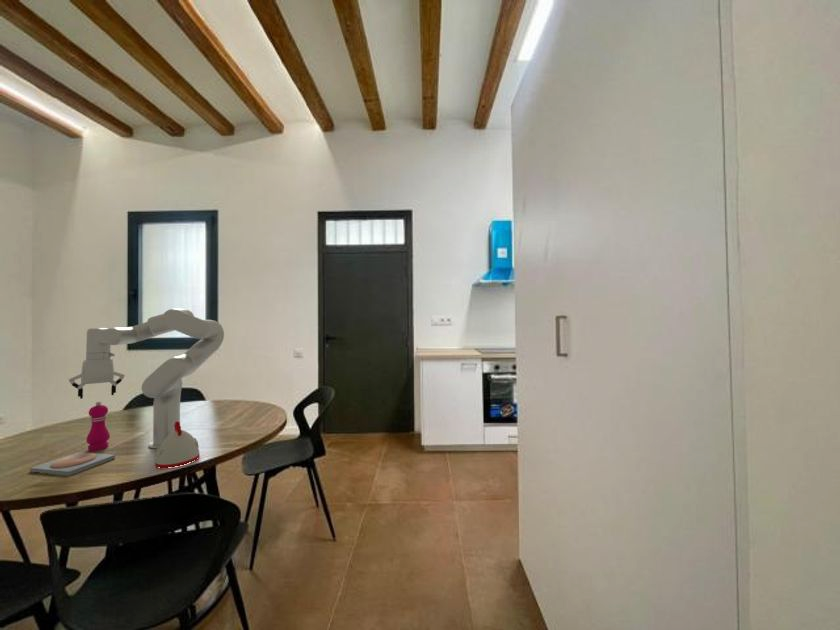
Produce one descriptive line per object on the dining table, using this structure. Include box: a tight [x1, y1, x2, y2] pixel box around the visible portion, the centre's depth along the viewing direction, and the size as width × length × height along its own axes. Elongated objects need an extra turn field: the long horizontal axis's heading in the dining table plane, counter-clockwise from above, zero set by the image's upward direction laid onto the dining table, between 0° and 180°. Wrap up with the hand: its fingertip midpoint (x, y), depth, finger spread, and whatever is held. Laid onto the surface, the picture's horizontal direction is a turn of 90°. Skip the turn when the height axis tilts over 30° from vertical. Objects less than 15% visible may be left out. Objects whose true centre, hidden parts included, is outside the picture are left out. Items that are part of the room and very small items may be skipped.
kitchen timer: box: [155, 421, 200, 468], centre depth 130 cm, size 14×14×15 cm
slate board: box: [29, 451, 116, 477], centre depth 127 cm, size 18×15×2 cm
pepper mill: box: [86, 401, 111, 452], centre depth 144 cm, size 7×7×20 cm
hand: (97, 396), depth 144 cm, fingers open, 9 cm apart
